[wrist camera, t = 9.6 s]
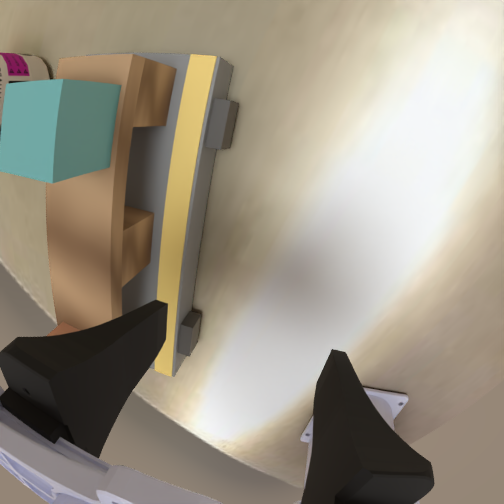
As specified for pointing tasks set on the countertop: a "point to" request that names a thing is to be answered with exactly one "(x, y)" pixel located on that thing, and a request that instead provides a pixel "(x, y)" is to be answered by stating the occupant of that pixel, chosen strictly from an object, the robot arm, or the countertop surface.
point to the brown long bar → (104, 198)
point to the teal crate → (57, 128)
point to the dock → (178, 193)
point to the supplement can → (19, 72)
